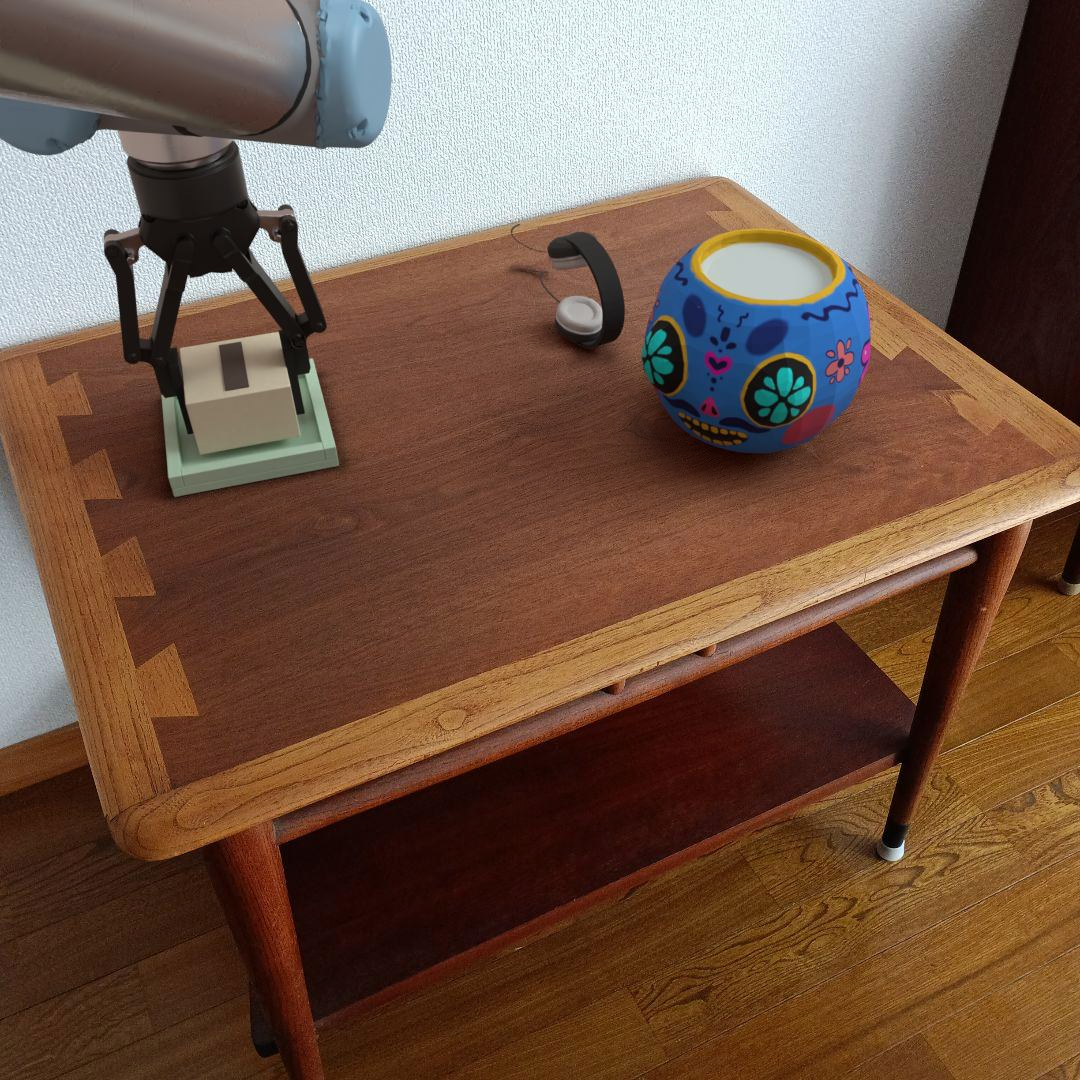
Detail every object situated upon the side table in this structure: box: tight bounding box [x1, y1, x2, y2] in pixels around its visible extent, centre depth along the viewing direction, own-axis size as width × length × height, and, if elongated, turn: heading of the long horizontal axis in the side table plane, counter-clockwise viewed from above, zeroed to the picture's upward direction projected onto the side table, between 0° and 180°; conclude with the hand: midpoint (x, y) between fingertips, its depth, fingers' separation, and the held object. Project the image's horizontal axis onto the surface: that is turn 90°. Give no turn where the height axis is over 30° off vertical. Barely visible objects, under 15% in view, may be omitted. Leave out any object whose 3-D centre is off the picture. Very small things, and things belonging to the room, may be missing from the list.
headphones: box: [510, 223, 626, 350], centre depth 102 cm, size 10×4×20 cm
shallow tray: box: [160, 357, 340, 498], centre depth 92 cm, size 13×13×2 cm
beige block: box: [179, 331, 301, 455], centre depth 90 cm, size 8×8×5 cm
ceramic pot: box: [641, 227, 872, 454], centre depth 88 cm, size 18×18×15 cm
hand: (245, 414), depth 91 cm, fingers closed on beige block, 8 cm apart
